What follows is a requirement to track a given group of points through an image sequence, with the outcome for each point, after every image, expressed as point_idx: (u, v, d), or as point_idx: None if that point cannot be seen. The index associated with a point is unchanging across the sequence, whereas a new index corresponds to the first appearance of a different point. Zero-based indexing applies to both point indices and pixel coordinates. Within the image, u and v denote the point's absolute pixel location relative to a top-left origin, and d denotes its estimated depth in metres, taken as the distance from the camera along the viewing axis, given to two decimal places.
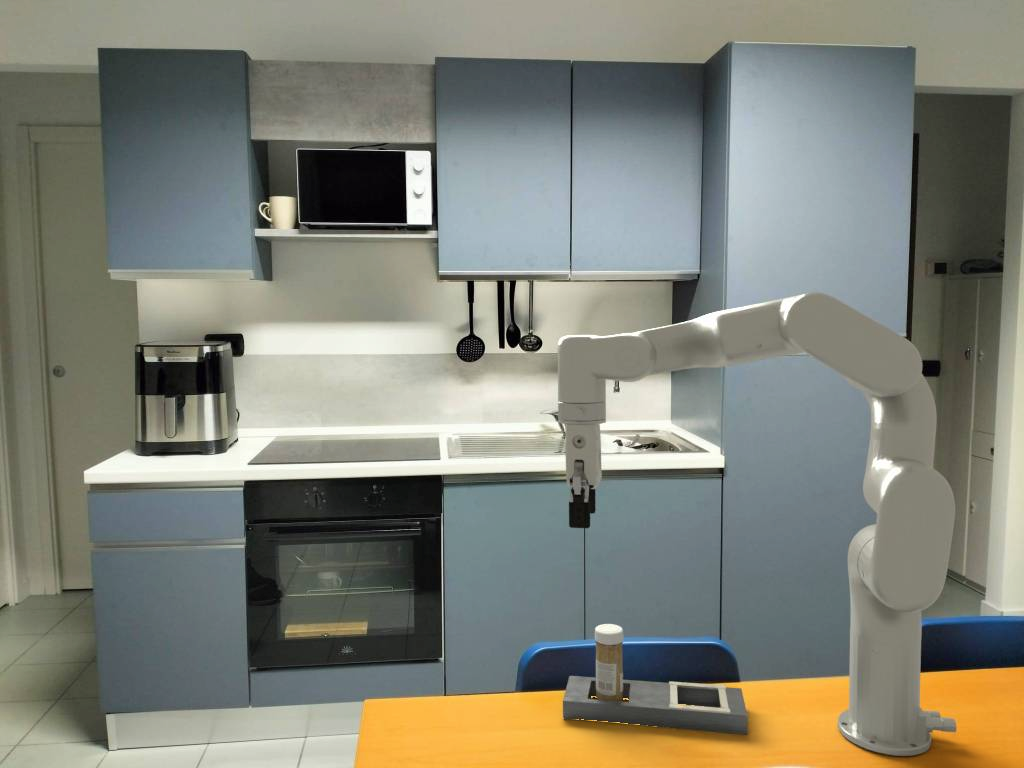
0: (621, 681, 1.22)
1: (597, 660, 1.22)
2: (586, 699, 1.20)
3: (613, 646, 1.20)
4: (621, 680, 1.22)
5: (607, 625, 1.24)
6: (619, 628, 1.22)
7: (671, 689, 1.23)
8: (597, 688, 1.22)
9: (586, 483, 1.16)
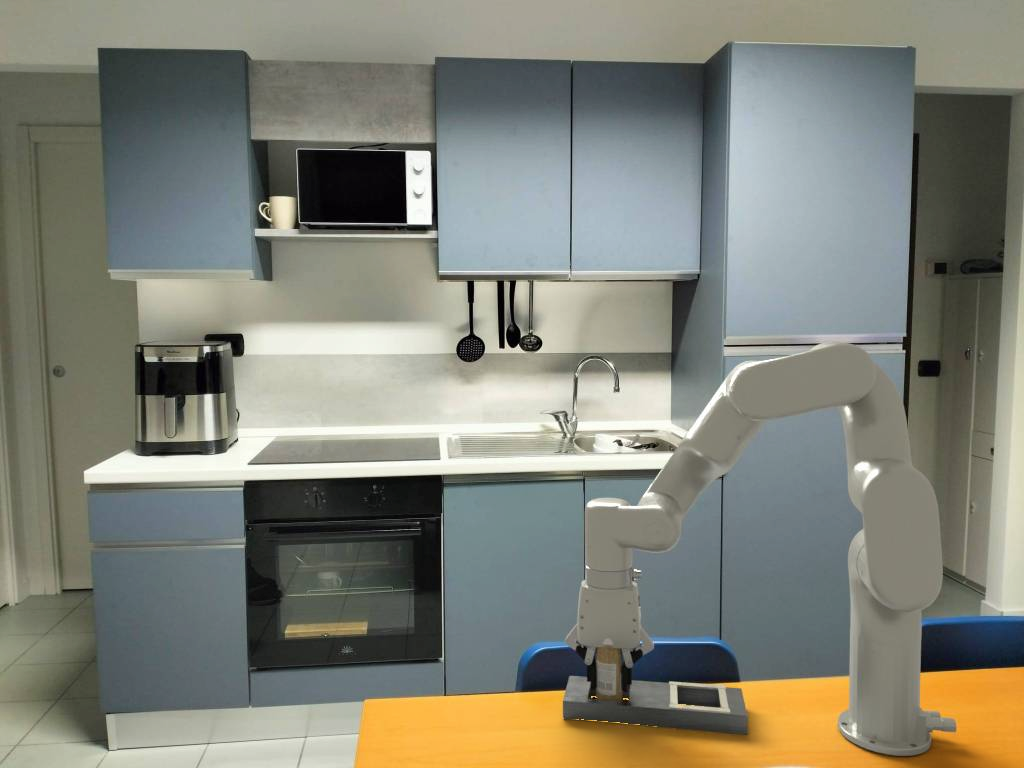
0: (621, 681, 1.22)
1: (597, 660, 1.22)
2: (586, 699, 1.20)
3: None
4: (621, 680, 1.22)
5: None
6: None
7: (671, 689, 1.23)
8: (597, 688, 1.22)
9: None
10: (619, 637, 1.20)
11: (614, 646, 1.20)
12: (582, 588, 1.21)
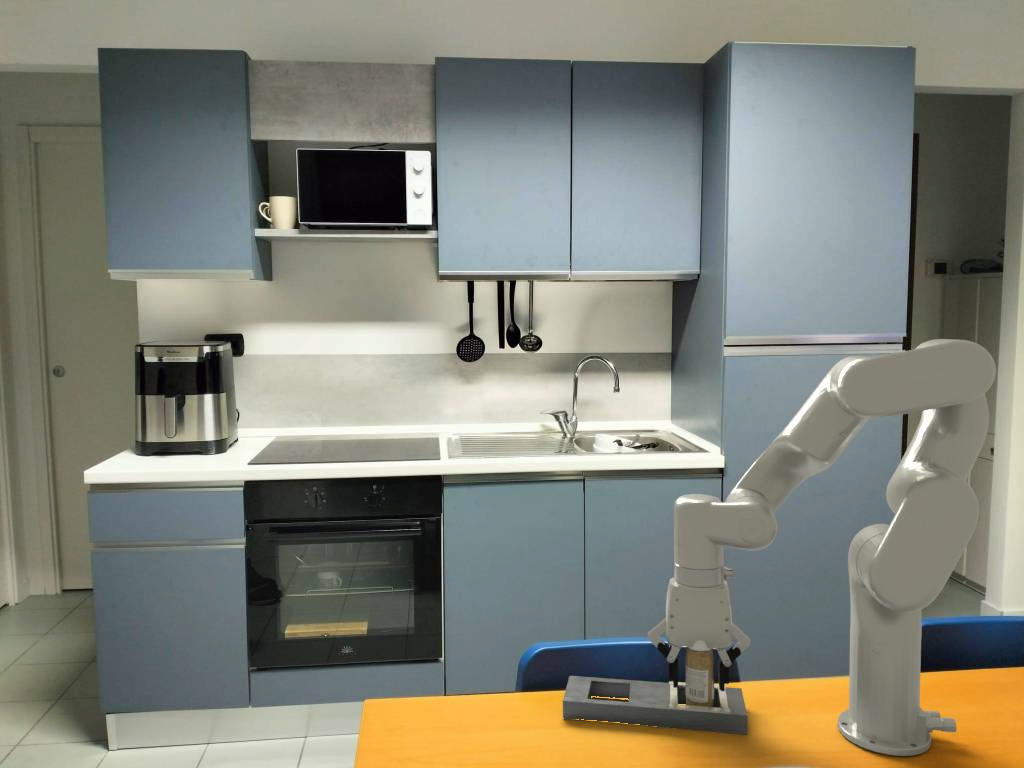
0: (713, 688, 1.19)
1: (688, 666, 1.19)
2: (586, 699, 1.20)
3: (705, 652, 1.18)
4: (713, 687, 1.19)
5: None
6: None
7: (671, 689, 1.23)
8: (687, 695, 1.19)
9: None
10: (711, 637, 1.17)
11: None
12: (672, 586, 1.18)
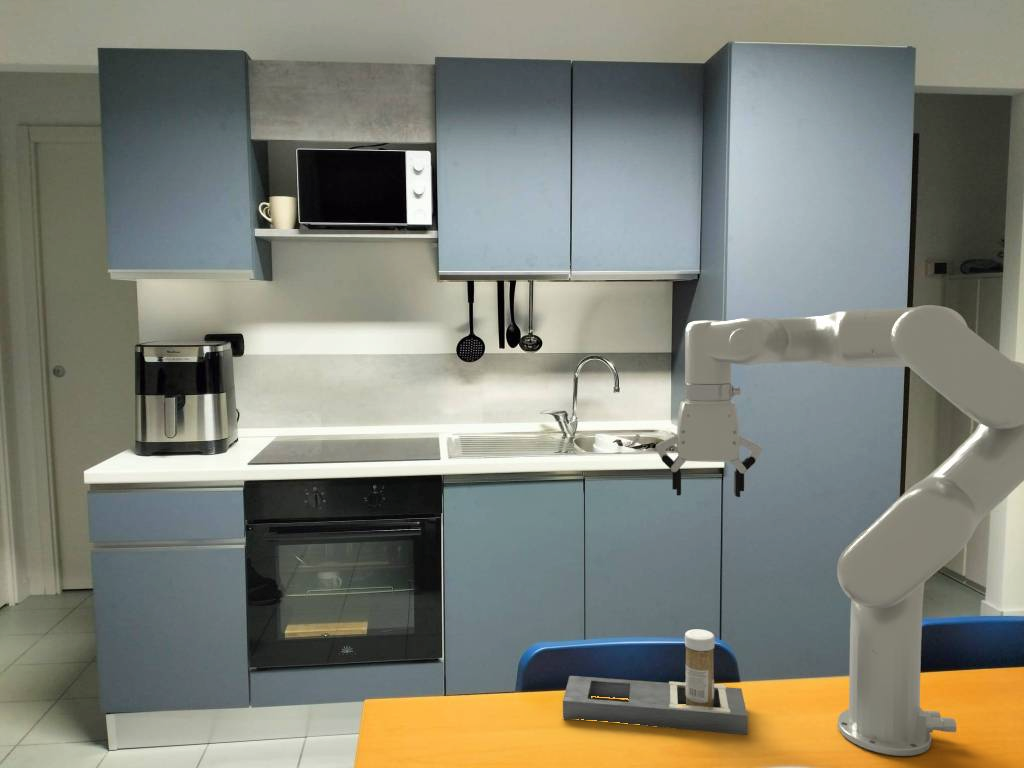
0: (713, 688, 1.19)
1: (688, 666, 1.19)
2: (586, 699, 1.20)
3: (705, 652, 1.18)
4: (713, 687, 1.19)
5: (697, 630, 1.21)
6: (710, 634, 1.19)
7: (671, 689, 1.23)
8: (687, 695, 1.19)
9: None
10: (719, 449, 1.26)
11: (714, 458, 1.26)
12: (683, 404, 1.27)
